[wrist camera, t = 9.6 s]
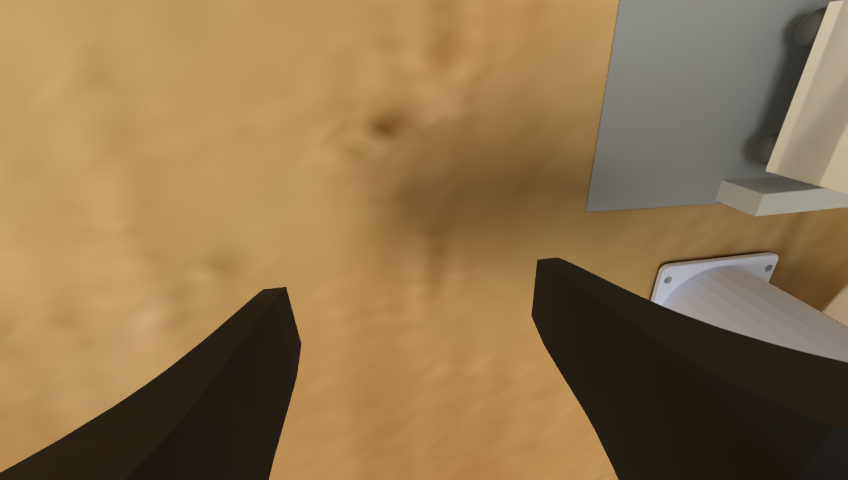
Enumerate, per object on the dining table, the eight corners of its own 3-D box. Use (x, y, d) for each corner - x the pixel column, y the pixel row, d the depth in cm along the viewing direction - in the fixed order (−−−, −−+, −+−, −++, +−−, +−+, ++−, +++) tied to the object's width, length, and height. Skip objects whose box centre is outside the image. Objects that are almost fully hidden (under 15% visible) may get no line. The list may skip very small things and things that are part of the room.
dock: (846, 182, 23) (950, 209, 19) (580, 208, 21) (629, 243, 17) (965, -59, 17) (1148, -97, 13) (619, -48, 16) (705, -86, 12)
